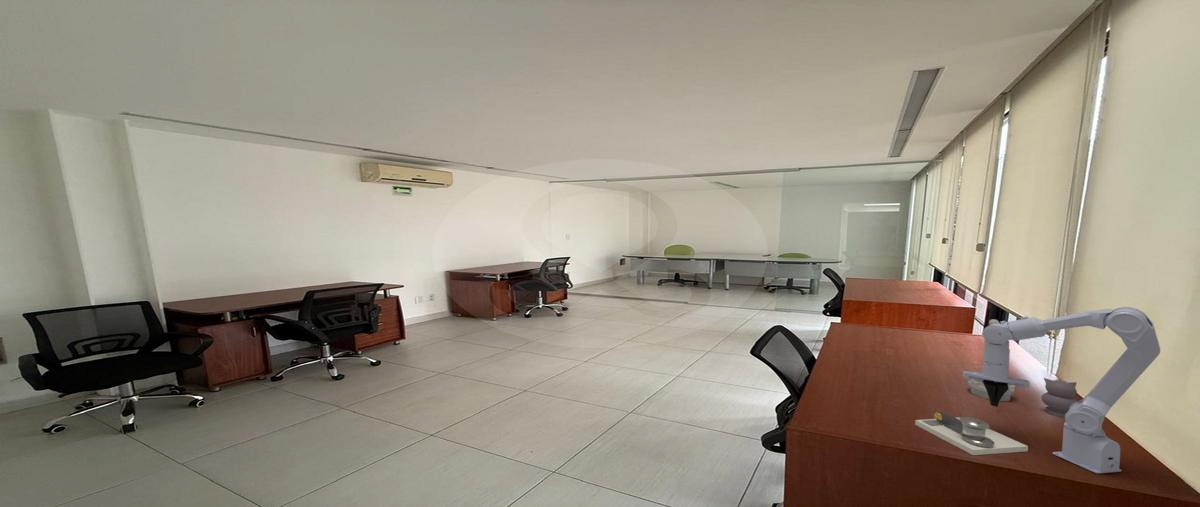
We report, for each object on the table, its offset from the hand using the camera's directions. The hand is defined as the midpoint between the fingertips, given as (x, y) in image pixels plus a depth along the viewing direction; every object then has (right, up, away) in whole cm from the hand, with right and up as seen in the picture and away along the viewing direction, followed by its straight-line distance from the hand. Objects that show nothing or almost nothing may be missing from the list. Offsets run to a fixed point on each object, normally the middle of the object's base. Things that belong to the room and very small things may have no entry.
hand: (993, 405), depth 123 cm
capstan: (-12, -8, -2) cm, 15 cm away
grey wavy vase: (+37, -9, +14) cm, 41 cm away
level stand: (-10, -9, -1) cm, 13 cm away
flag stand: (+29, -8, +30) cm, 43 cm away
